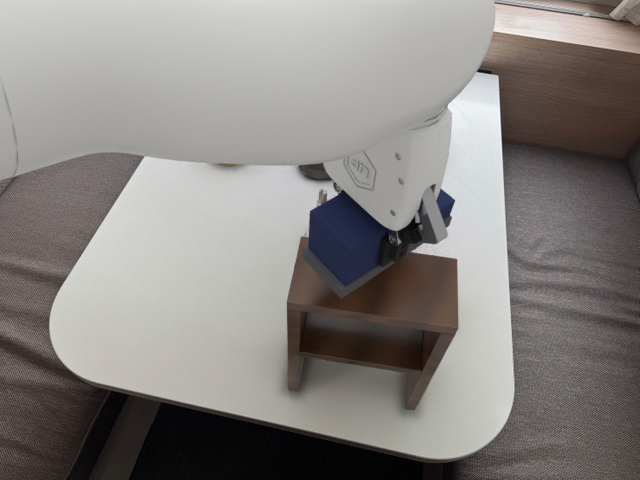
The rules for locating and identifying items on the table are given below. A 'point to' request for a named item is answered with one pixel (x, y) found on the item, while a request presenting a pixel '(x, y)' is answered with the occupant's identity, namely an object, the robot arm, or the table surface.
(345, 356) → the shoe stand
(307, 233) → the screw
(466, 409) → the table surface
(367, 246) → the blue stepped block
